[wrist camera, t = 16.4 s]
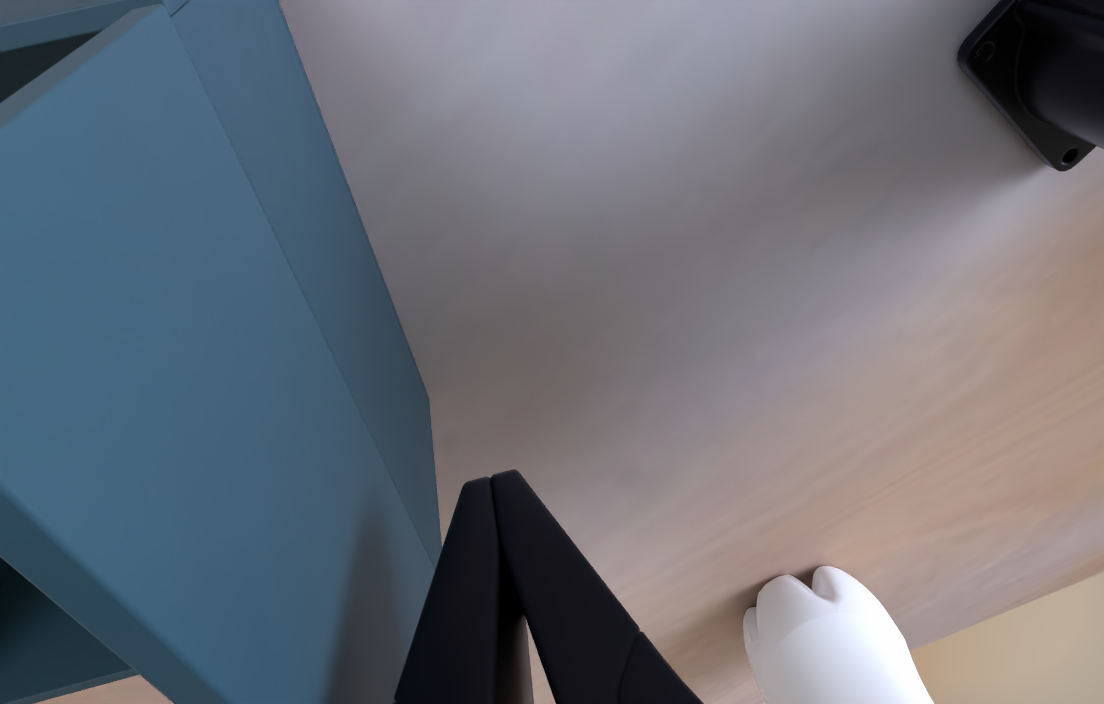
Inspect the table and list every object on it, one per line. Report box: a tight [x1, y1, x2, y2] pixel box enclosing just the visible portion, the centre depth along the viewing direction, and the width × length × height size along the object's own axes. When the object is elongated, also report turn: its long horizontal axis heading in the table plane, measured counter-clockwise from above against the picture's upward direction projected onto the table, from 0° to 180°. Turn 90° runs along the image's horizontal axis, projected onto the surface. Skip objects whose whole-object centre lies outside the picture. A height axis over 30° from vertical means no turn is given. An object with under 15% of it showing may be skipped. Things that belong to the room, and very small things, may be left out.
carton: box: [0, 0, 442, 704], centre depth 15 cm, size 13×14×7 cm
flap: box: [0, 4, 435, 704], centre depth 10 cm, size 6×14×1 cm
